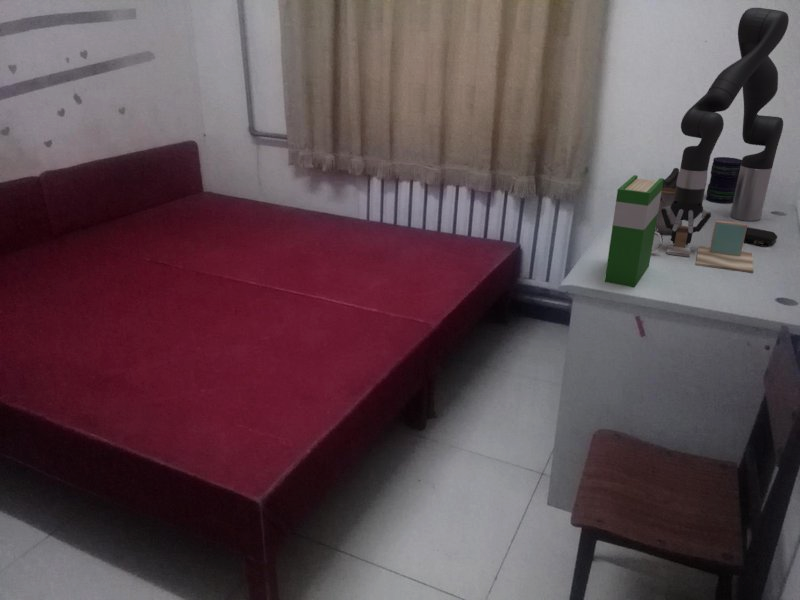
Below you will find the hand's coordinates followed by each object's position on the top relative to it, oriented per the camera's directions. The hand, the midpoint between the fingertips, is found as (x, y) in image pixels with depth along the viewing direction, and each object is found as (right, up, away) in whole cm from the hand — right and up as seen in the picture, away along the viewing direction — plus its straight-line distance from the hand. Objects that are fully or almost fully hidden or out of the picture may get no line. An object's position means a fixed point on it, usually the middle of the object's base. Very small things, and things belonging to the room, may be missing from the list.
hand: (680, 243), depth 189 cm
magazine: (+14, +18, +47) cm, 52 cm away
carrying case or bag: (+24, +2, +10) cm, 26 cm away
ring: (-11, -3, -3) cm, 12 cm away
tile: (+11, -3, -4) cm, 12 cm away
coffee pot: (-1, +4, +14) cm, 15 cm away
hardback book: (-21, -10, -18) cm, 29 cm away
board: (+9, -5, -7) cm, 13 cm away
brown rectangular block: (0, -1, -1) cm, 2 cm away
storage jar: (+37, +20, +52) cm, 67 cm away
